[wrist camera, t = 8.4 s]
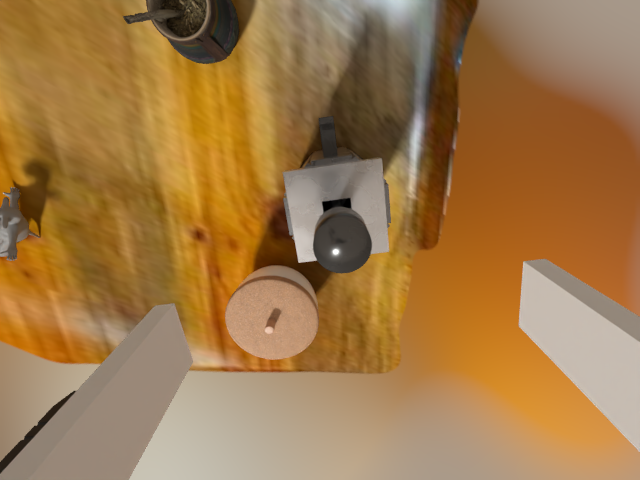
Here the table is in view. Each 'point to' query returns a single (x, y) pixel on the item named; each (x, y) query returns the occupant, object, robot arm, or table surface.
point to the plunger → (341, 237)
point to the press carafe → (335, 192)
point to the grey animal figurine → (12, 225)
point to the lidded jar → (273, 313)
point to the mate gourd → (194, 26)
